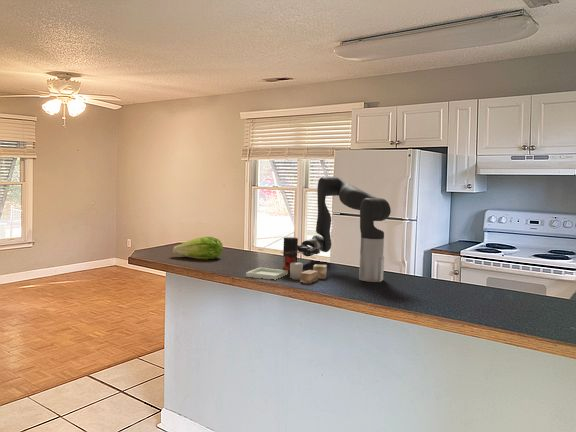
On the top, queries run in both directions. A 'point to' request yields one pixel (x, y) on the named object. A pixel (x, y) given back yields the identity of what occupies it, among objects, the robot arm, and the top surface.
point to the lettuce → (200, 248)
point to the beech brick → (309, 276)
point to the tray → (267, 273)
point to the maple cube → (321, 270)
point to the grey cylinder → (296, 270)
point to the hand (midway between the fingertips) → (298, 251)
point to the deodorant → (289, 252)
